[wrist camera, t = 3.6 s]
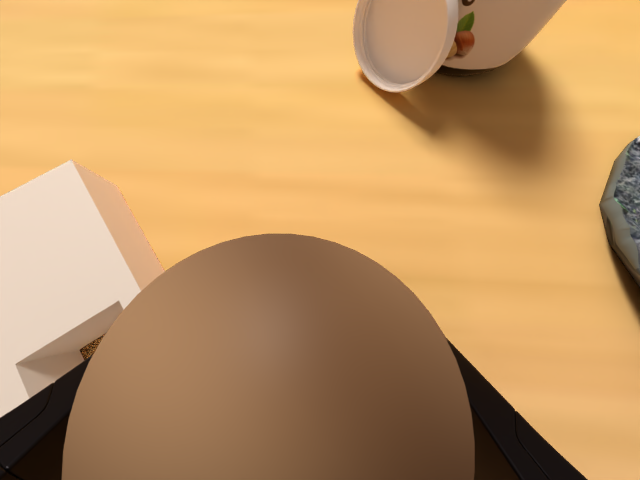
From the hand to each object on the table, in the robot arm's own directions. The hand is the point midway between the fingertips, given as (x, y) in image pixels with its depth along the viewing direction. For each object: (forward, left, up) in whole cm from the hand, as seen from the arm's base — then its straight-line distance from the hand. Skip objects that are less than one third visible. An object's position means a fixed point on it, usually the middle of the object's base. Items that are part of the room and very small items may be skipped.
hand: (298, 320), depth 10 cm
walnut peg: (-1, -1, -7) cm, 7 cm away
